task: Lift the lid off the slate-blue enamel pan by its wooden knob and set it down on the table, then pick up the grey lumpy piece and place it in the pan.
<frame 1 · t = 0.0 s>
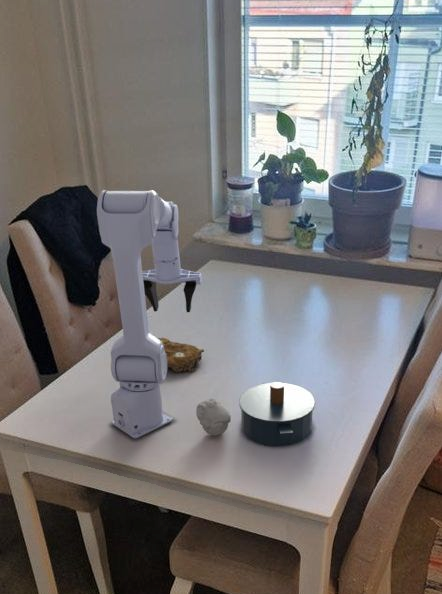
hand: (172, 309, 155), 11 cm above the table, tool pointing down, fingers open, 7 cm apart
pan lid: (276, 403, 129), point 5 cm above the table, touching pan
grey lumpy piece: (214, 434, 131), on the table
pan: (276, 427, 132), on the table
decorative rock: (170, 361, 157), on the table
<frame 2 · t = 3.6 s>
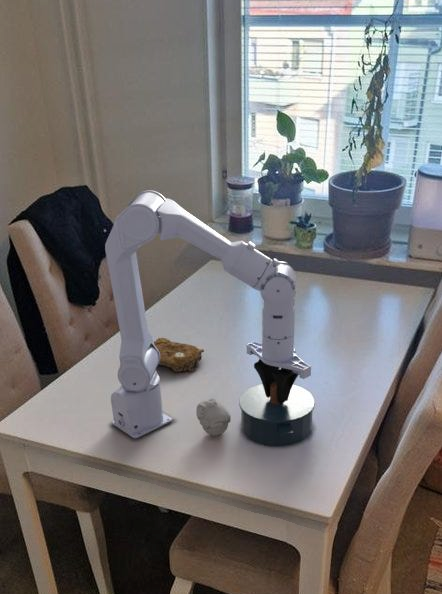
hand: (277, 398, 128), 7 cm above the table, tool pointing down, fingers closed on pan lid, 2 cm apart
pan lid: (276, 403, 129), point 6 cm above the table, touching gripper, pan
everything else where it was.
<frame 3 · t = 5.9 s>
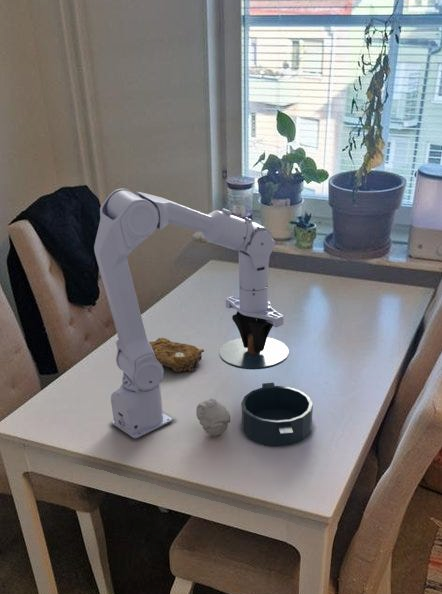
hand: (253, 348, 139), 10 cm above the table, tool pointing down, fingers closed on pan lid, 2 cm apart
pan lid: (253, 353, 140), point 9 cm above the table, touching gripper
everything else where it was.
when the fingers open (2 cm above the table, at t = 8.1 s): pan lid stays where it is, point 1 cm above the table.
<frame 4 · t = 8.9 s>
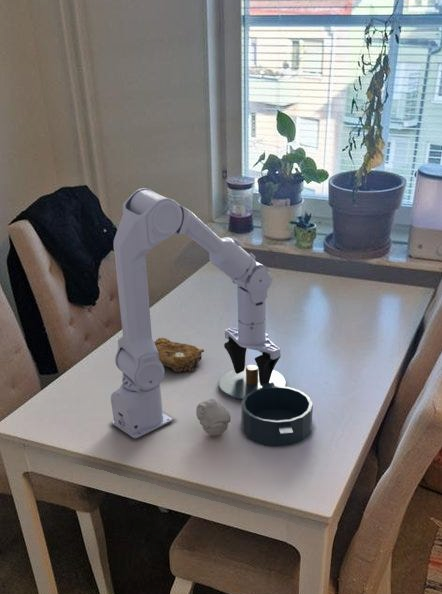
hand: (252, 377, 144), 2 cm above the table, tool pointing down, fingers open, 7 cm apart
pan lid: (252, 383, 145), point 1 cm above the table
everything else where it was.
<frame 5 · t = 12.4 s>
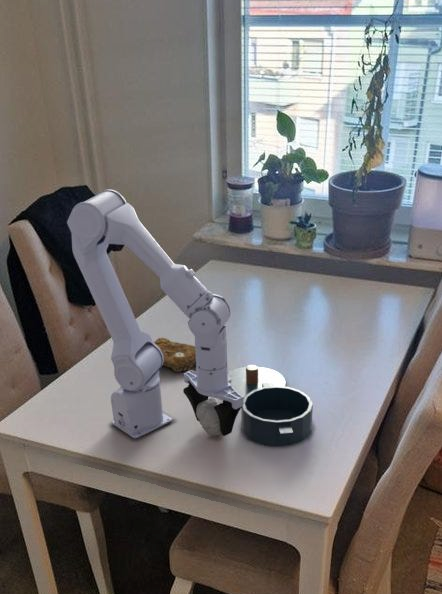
hand: (214, 426, 130), 2 cm above the table, tool pointing down, fingers closed on grey lumpy piece, 7 cm apart
grey lumpy piece: (214, 434, 131), on the table, touching gripper
everything else where it was.
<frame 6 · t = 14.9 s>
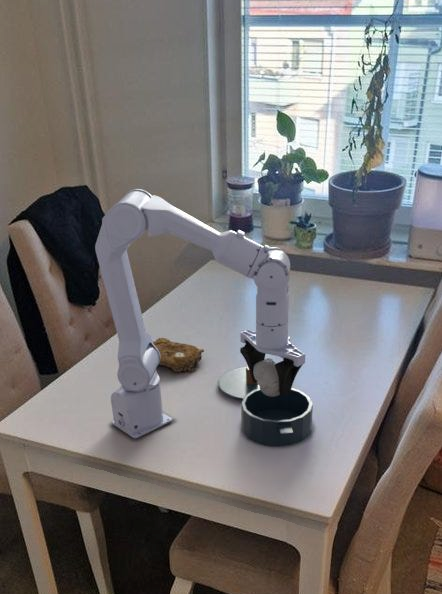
hand: (271, 387, 127), 9 cm above the table, tool pointing down, fingers closed on grey lumpy piece, 7 cm apart
grey lumpy piece: (271, 395, 128), point 7 cm above the table, touching gripper
everything else where it was.
when the fingers open (2 cm above the table, at t = 17.4 s): grey lumpy piece stays where it is, resting on pan.
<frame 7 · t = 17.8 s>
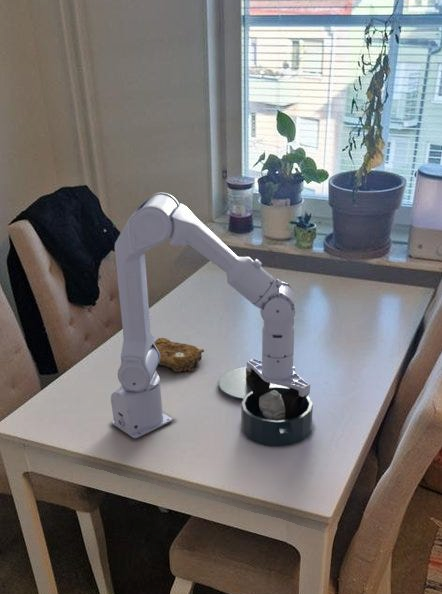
hand: (276, 414, 130), 3 cm above the table, tool pointing down, fingers open, 7 cm apart
grey lumpy piece: (276, 426, 132), resting on pan, touching gripper
everything else where it was.
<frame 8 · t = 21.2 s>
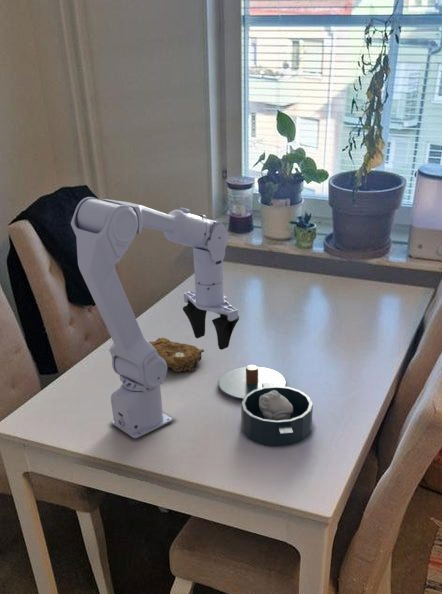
hand: (211, 342, 142), 10 cm above the table, tool pointing down, fingers open, 7 cm apart
grey lumpy piece: (276, 426, 132), resting on pan
everything else where it was.
at the end: pan lid inside the target area (0.1 cm from its centre), point 0.6 cm above the table; grey lumpy piece inside the target area in the pan (0.1 cm from its centre), point 0.3 cm above the pan's base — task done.
